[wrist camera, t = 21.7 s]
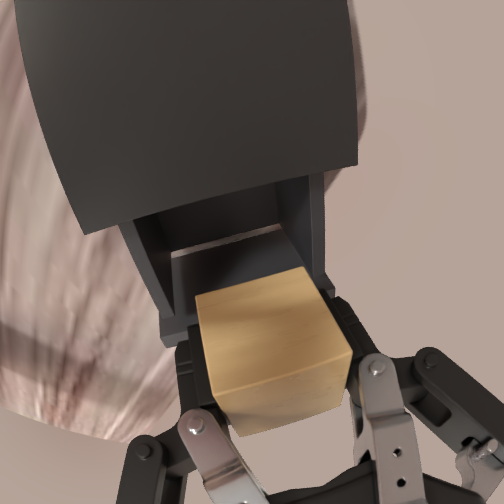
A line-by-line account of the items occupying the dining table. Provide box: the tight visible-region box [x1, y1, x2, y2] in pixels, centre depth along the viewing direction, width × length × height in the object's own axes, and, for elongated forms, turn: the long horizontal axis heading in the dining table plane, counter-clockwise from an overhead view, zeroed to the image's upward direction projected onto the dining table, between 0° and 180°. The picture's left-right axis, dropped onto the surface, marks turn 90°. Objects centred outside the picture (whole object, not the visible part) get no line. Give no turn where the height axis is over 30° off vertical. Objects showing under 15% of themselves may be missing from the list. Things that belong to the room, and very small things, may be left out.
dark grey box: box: [14, 0, 358, 235], centre depth 12 cm, size 15×13×10 cm
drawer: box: [118, 172, 335, 348], centre depth 19 cm, size 18×11×8 cm, turn 8°
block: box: [195, 266, 353, 437], centre depth 11 cm, size 4×4×4 cm
